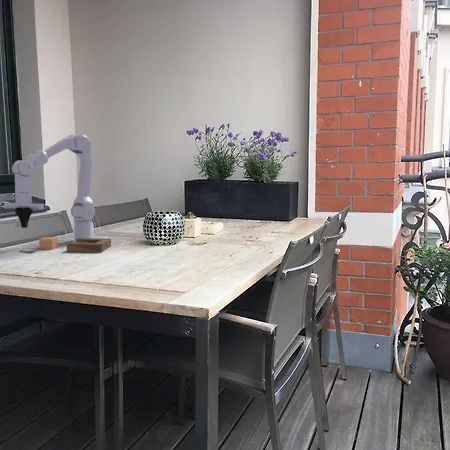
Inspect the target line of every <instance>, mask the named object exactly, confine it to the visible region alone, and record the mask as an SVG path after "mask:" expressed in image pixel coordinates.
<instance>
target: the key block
mask: <svg viewBox="0 0 450 450" xmlns="http://www.w3.org/2000/svg"><path fill="white" fill-rule="evenodd" d="M38 242H39V250H55V249H57V248H58V237H54V236H53V237H51V236H49V237H48V236H46V237H45V236H44V237H41V238H39V241H38Z"/></svg>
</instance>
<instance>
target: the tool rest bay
mask: <svg viewBox="0 0 450 450" xmlns="http://www.w3.org/2000/svg"><path fill="white" fill-rule="evenodd" d="M110 247H112V239H111V238H96V237H94V238H78V239H76V242H67V243H66V253H99V254H100V253H103V252H104V251H106V250H107V249H109V248H110Z"/></svg>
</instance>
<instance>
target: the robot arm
mask: <svg viewBox="0 0 450 450" xmlns="http://www.w3.org/2000/svg"><path fill="white" fill-rule="evenodd" d="M65 150H69V151H70V152H72V153H74V154H76V155H77V157H78V158H79V159H80V161H79V170H78V171H79V172H78V183H77V192H76V193H77V195H76V197H75V199H74V200H73V205H72V206H71V208H70V215H71V216H72V218H73V226H74V227H73V229H74V230H73V231H74V233H73V234H74V239H73V240H71V242H70V243H76V239H78V238H95V226H94V225H95V224H94V223H93V218H94V217H95V215H96V212H95V211H96V209H95V204H94V201H93V199H92V197H91V196H92V186H93V175H94V167H95V154H94V149H93V147H92V140H91V139H90V138H89V137H88V136H87V135H86V134H75V135H74V134H69V135H68V136H66V137H63V138H62V139H60V140H59V141H57V142H56V143H54V144H53V145H50V146H49V147H47V148H46V149H44V150H41V149H34V150H33V151H32V153H31V154H29V155H27V156H23V157H22V160H21V159H20V160H16V161H14V163H13V165H12V167H11V172H12V173H13V174H14V187H15V188H14V189H15V190H14V192H15V193H14V194H15V195H14V196H15V202H6V203H3V208H4V209H14V212H15V214H16V216H17V217H18V220H19V222H20V226H21V228H22V229H26V228H28V225H29V221H30V217H31V215H32V213H33V212H34V210H44V208H45V207H44V206H45V204H44V203H35V202H33V199H32V196H33V195H32V174H33V173H34V171H36V170H37V169H39V168H41V167H42V166H44V165H46V164H47V163H48V162H49V159H50V158H52V157H53V156H55V155H57V154H59V153H60V152H63V151H65Z"/></svg>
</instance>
